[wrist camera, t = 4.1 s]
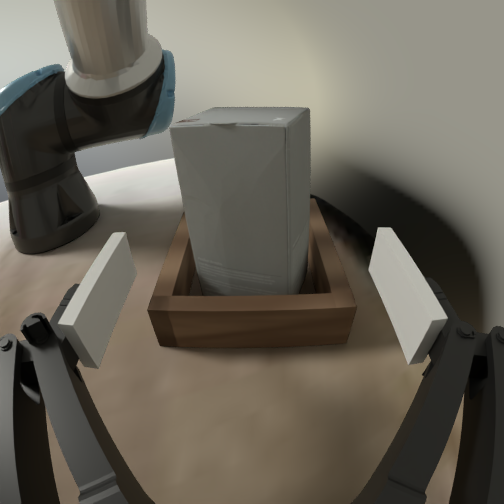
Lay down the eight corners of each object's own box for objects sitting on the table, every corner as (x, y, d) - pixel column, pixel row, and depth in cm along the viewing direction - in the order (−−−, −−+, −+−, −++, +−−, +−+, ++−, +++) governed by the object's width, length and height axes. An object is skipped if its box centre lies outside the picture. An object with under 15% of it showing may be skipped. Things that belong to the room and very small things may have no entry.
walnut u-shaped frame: (346, 343, 22) (357, 306, 20) (159, 345, 23) (147, 309, 20) (312, 228, 37) (314, 198, 35) (192, 231, 37) (188, 201, 35)
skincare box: (307, 276, 29) (319, 106, 21) (285, 329, 24) (296, 120, 15) (227, 259, 32) (217, 102, 23) (193, 303, 27) (165, 117, 18)
